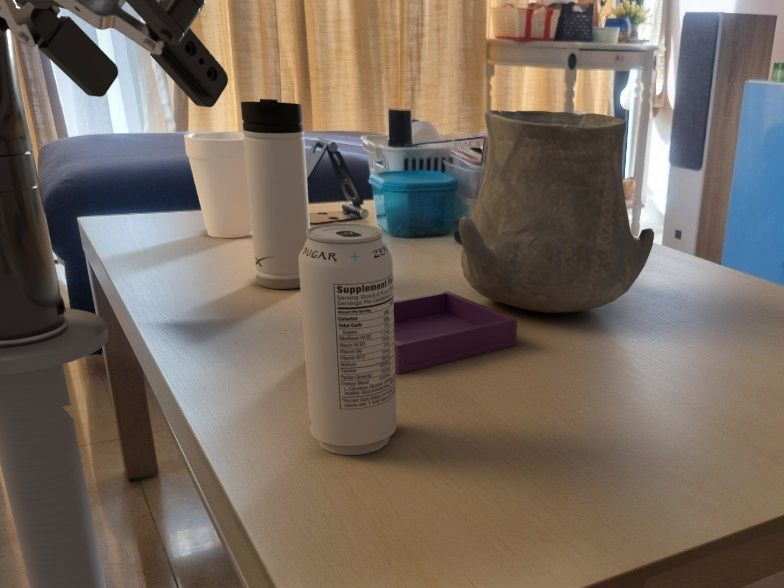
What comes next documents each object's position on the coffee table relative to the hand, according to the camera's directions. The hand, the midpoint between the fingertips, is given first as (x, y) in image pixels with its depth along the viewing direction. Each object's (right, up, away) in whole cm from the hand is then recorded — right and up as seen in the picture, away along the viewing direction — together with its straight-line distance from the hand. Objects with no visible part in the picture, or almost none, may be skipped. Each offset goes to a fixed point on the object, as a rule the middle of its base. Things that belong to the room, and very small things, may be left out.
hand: (159, 89), depth 45 cm
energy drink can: (+7, -20, +15) cm, 26 cm away
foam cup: (-23, +7, +72) cm, 76 cm away
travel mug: (-9, -3, +51) cm, 52 cm away
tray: (+9, -11, +35) cm, 38 cm away
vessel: (+21, -5, +50) cm, 54 cm away
